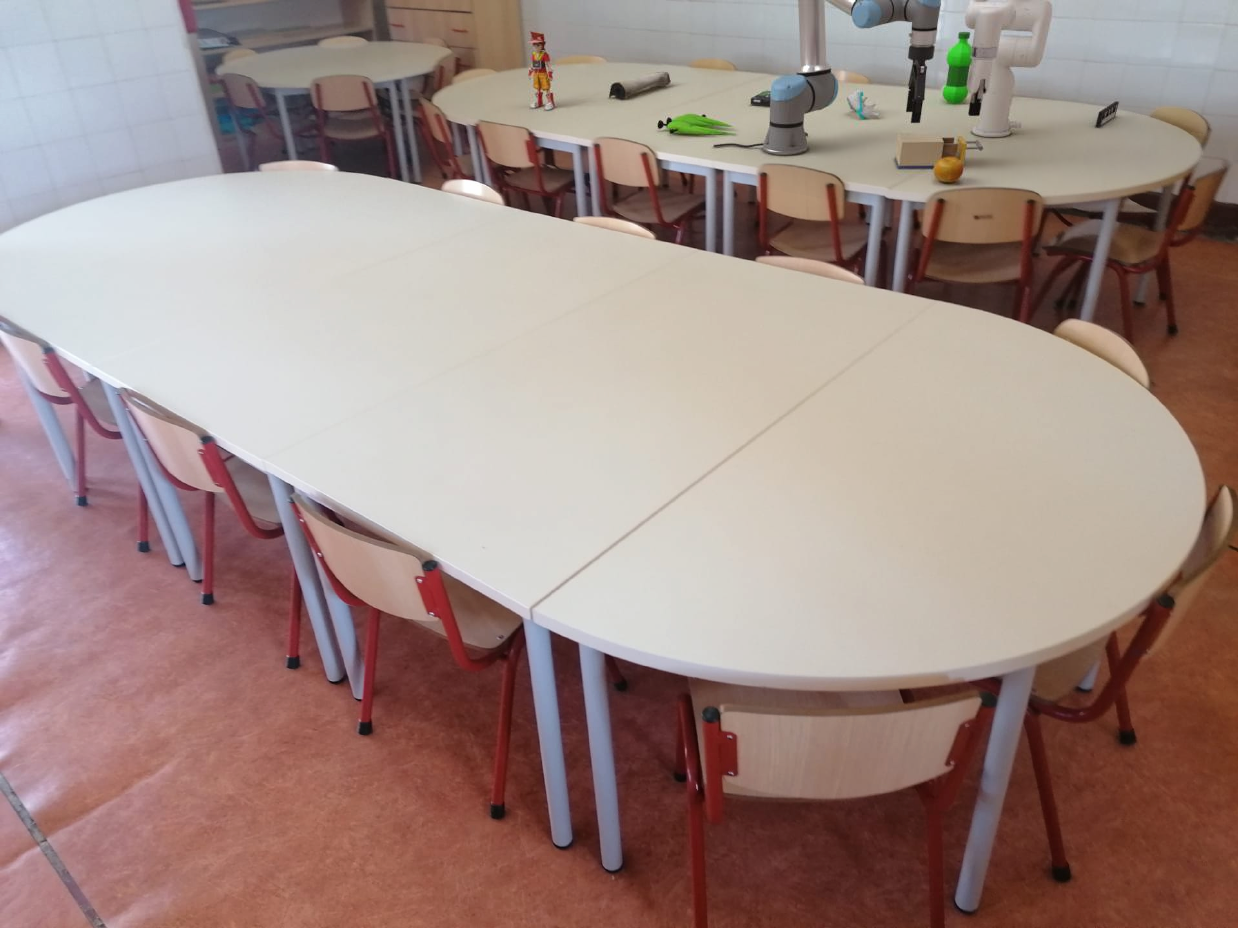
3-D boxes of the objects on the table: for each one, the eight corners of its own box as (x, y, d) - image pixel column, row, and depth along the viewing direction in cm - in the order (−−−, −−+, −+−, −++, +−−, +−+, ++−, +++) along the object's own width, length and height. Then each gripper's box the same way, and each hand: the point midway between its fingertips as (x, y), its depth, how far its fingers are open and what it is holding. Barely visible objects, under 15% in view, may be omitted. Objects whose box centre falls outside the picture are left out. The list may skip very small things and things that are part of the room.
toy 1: (525, 109, 381) (517, 32, 364) (534, 104, 388) (527, 28, 371) (550, 110, 377) (543, 32, 360) (559, 105, 384) (553, 28, 367)
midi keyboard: (1099, 127, 316) (1102, 112, 313) (1095, 126, 316) (1098, 112, 314) (1115, 116, 326) (1119, 101, 323) (1111, 115, 327) (1115, 101, 324)
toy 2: (646, 133, 336) (718, 146, 323) (647, 118, 333) (719, 132, 320) (682, 121, 356) (750, 133, 343) (683, 107, 353) (752, 119, 341)
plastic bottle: (973, 101, 354) (984, 32, 339) (955, 106, 349) (966, 36, 335) (952, 97, 361) (962, 29, 346) (934, 102, 356) (944, 33, 342)
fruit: (927, 172, 273) (945, 149, 270) (928, 175, 281) (945, 152, 278) (950, 188, 272) (968, 164, 269) (951, 190, 280) (968, 167, 277)
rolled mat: (651, 76, 408) (662, 61, 399) (662, 93, 408) (674, 79, 400) (605, 92, 391) (616, 77, 383) (617, 110, 391) (628, 95, 383)
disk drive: (773, 107, 363) (788, 98, 373) (773, 100, 361) (788, 91, 371) (750, 105, 368) (765, 96, 378) (750, 98, 366) (765, 89, 376)
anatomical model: (842, 88, 347) (867, 81, 346) (844, 115, 353) (869, 108, 352) (853, 97, 335) (879, 90, 334) (855, 125, 341) (881, 118, 340)
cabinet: (935, 158, 297) (939, 132, 292) (939, 168, 288) (943, 141, 283) (895, 159, 299) (898, 133, 294) (898, 168, 290) (902, 142, 285)
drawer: (975, 156, 294) (979, 135, 290) (981, 164, 286) (984, 143, 282) (922, 156, 296) (924, 136, 293) (925, 165, 289) (928, 144, 285)
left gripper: (904, 37, 284) (896, 107, 296) (914, 53, 264) (904, 127, 276) (929, 37, 283) (920, 107, 295) (940, 52, 263) (930, 127, 275)
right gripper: (967, 48, 279) (957, 109, 289) (975, 58, 267) (965, 121, 277) (992, 47, 278) (981, 109, 288) (1002, 57, 265) (990, 121, 276)
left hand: (912, 117), depth 285 cm, fingers open, 13 cm apart
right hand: (973, 115), depth 282 cm, fingers closed
